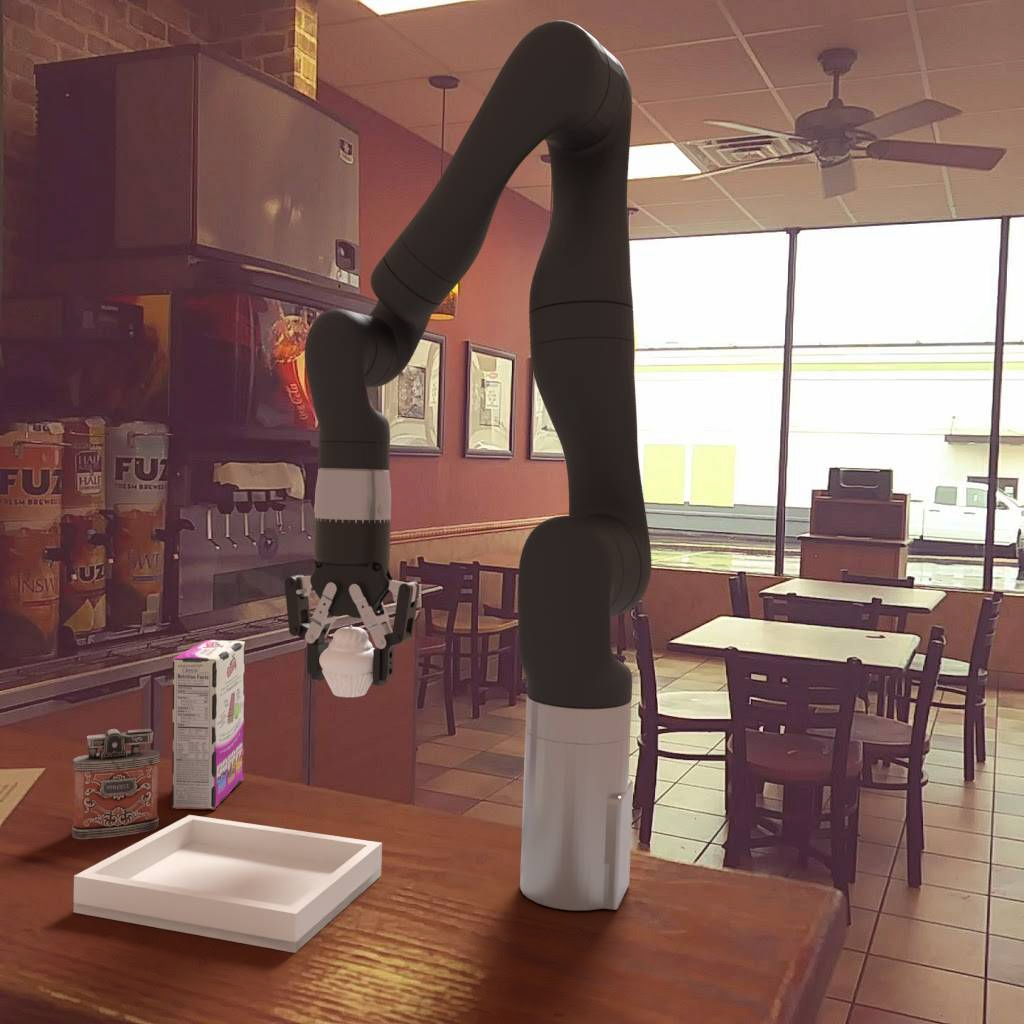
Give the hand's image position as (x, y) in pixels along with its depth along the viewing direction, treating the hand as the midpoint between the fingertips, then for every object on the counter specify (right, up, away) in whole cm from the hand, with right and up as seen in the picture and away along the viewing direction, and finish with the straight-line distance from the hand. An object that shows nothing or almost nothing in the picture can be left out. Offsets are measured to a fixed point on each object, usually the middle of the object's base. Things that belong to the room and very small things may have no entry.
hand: (349, 681), depth 104 cm
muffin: (0, -2, 0) cm, 1 cm away
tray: (-7, -16, -15) cm, 23 cm away
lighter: (-23, -15, -1) cm, 27 cm away
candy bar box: (-17, -15, +11) cm, 25 cm away
